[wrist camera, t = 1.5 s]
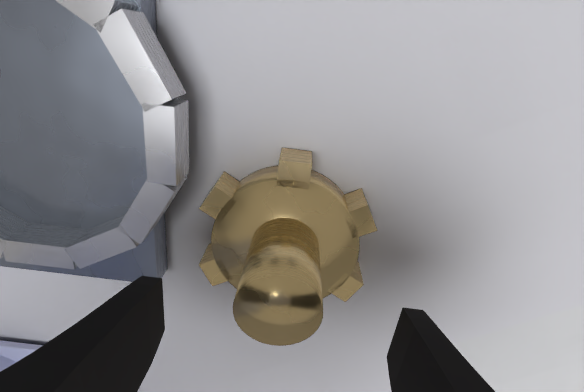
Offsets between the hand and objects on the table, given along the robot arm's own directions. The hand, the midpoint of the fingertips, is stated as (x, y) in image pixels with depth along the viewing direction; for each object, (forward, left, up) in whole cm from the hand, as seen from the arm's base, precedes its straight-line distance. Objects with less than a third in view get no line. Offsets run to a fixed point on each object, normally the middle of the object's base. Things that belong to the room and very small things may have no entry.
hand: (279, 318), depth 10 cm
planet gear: (0, 0, -6) cm, 6 cm away
